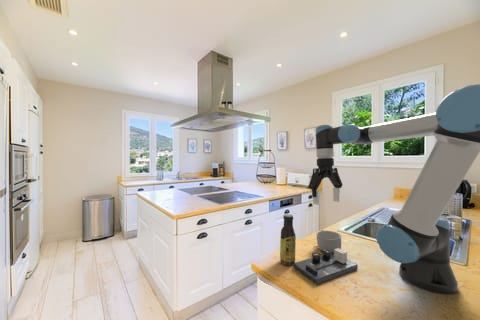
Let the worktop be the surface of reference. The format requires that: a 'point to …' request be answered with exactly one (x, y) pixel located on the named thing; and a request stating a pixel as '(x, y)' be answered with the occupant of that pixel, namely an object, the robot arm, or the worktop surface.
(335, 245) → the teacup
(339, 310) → the worktop surface
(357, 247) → the worktop surface
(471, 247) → the worktop surface
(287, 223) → the sauce bottle
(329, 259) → the board
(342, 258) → the fader
